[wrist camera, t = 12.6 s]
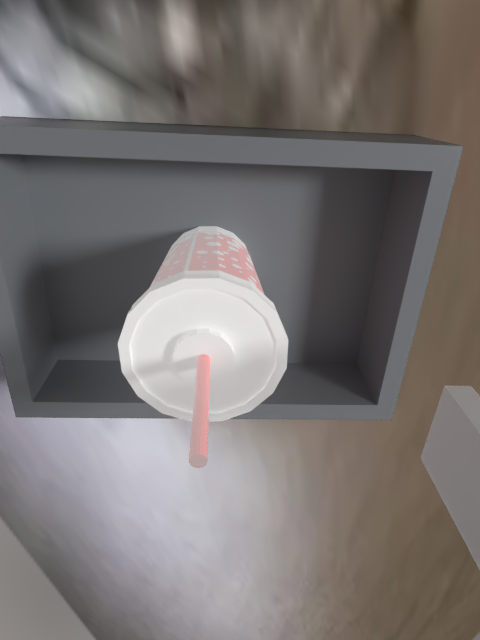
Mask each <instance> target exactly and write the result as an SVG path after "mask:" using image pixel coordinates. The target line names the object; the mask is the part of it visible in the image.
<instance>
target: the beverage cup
mask: <svg viewBox="0 0 480 640" xmlns="http://www.w3.org/2000/svg"><path fill="white" fill-rule="evenodd" d="M118 350H119V356H120V363H121V370H122V373H123V375H124V376H125V378H126V379H127V381H128V382H129V384H130V385H131V387H132V388H133V390H134V391H135V393H136V394H137V396H138V397H139V398H141V399H142V400H144V401H145V402H147V403H148V404H149V405H151V406H152V407H154V408H155V409H157V410H158V411H159V412H161V413H162V414H166V415H169V416H173V417H176V418H179V419H183V420H186V421H190V422H192V430H191V442H190V454H189V463H190V465H191V466H193V467H196V468H201V467H204V466H205V465H206V464H207V455H208V425H209V422H211V421H224V420H227V419H230V418H233V417H236V416H239V415H241V414H244V413H247V412H250V411H252V410H253V409H254V408H255V407H256V406H258V405H259V404H260V403H261V402H263V401H264V400H265V399H266V398H268V397H269V396H270V395H271V394H273V392H274V391H275V389H276V387H277V385H278V383H279V382H280V380H281V378H282V376H283V374H284V372H285V371H286V369H287V355H288V337H287V335H286V332H285V330H284V327H283V325H282V322H281V320H280V317H279V315H278V313H277V310H276V308H275V305H274V303H273V302H272V301H271V300H269V299H268V298H267V297H266V296H265V295H264V292H263V289H262V287H261V284H260V281H259V279H258V276H257V273H256V271H255V268H254V265H253V263H252V260H251V258H250V255H249V253H248V251H247V248H246V246H245V244H244V243H243V242H242V241H241V240H240V239H239V238H238V237H237V236H236V235H235V234H234V233H232V232H230V231H227V230H225V229H222V228H220V227H217V226H199V227H197V228H195V229H192V230H190V231H187V232H185V233H183V234H182V235H181V236H180V237H179V238H178V239H177V241H176V242H175V243H174V244H173V245H172V246H171V248H170V250H169V252H168V254H167V256H166V258H165V259H164V261H163V263H162V265H161V267H160V269H159V271H158V273H157V274H156V276H155V278H154V280H153V282H152V284H151V286H150V288H149V289H148V290H147V291H146V292H145V293H144V294H143V295H142V296H141V297H140V298H139V299H138V300H137V301H136V302H135V303H134V304H133V305H132V307H131V310H130V311H129V312H128V314H127V317H126V320H125V323H124V326H123V329H122V332H121V335H120V338H119V341H118Z"/></svg>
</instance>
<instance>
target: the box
mask: <svg viewBox="0 0 480 640" xmlns="http://www.w3.org/2000/svg"><path fill="white" fill-rule="evenodd" d="M462 149H463V146H461V145H456V144H452V143H447V142H443V141H438V140H434V139H429V138H425V137H420V136H416V135H401V134H379V133H357V132H335V131H313V130H291V129H269V128H247V127H225V126H203V125H181V124H159V123H137V122H115V121H93V120H71V119H49V118H27V117H5V116H2V117H0V354H1V358H2V362H3V366H4V370H5V374H6V378H7V383H8V387H9V391H10V395H11V399H12V403H13V407H14V411H15V415H16V417H52V418H176V417H173V416H169V415H166V414H162V413H161V412H159V411H158V410H157V409H155V408H154V407H152V406H151V405H149V404H148V403H147V402H145V401H144V400H142V399H141V398H139V397H138V396H137V394H136V393H135V391H134V390H133V388H132V387H131V385H130V384H129V382H128V381H127V379H126V378H125V376H124V375H123V373H122V370H121V363H120V356H119V350H118V341H119V338H120V335H121V332H122V329H123V326H124V323H125V320H126V317H127V314H128V312H129V311H130V310H131V307H132V305H133V304H134V303H135V302H136V301H137V300H138V299H139V298H140V297H141V296H142V295H143V294H144V293H145V292H146V291H147V290H148V289H149V288H150V286H151V284H152V282H153V280H154V278H155V276H156V274H157V273H158V271H159V269H160V267H161V265H162V263H163V261H164V259H165V258H166V256H167V254H168V252H169V250H170V248H171V246H172V245H173V244H174V243H175V242H176V241H177V239H178V238H179V237H180V236H181V235H182V234H183V233H185V232H187V231H190V230H192V229H195V228H197V227H199V226H217V227H220V228H222V229H225V230H227V231H230V232H232V233H234V234H235V235H236V236H237V237H238V238H239V239H240V240H241V241H242V242H243V243H244V244H245V246H246V248H247V251H248V253H249V255H250V258H251V260H252V263H253V265H254V268H255V271H256V273H257V276H258V279H259V281H260V284H261V287H262V289H263V292H264V295H265V296H266V297H267V298H268V299H269V300H271V301H272V302H273V303H274V305H275V308H276V310H277V313H278V315H279V317H280V320H281V322H282V325H283V327H284V330H285V332H286V335H287V337H288V355H287V369H286V371H285V372H284V374H283V376H282V378H281V380H280V382H279V383H278V385H277V387H276V389H275V391H274V392H273V394H271V395H270V396H269V397H268V398H266V399H265V400H264V401H263V402H261V403H260V404H259V405H258V406H256V407H255V408H254V409H253V410H252V411H250V412H247V413H244V414H241V415H239V416H236V417H233V418H230V419H320V420H392V418H393V414H394V410H395V406H396V402H397V399H398V395H399V391H400V387H401V383H402V379H403V376H404V372H405V368H406V364H407V360H408V356H409V353H410V349H411V345H412V341H413V337H414V333H415V330H416V326H417V322H418V318H419V314H420V310H421V306H422V303H423V299H424V295H425V291H426V287H427V283H428V280H429V276H430V272H431V268H432V264H433V260H434V257H435V253H436V249H437V245H438V241H439V237H440V234H441V230H442V226H443V222H444V218H445V214H446V211H447V207H448V203H449V199H450V195H451V191H452V188H453V184H454V180H455V176H456V172H457V168H458V165H459V161H460V157H461V153H462Z"/></svg>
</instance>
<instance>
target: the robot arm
mask: <svg viewBox="0 0 480 640" xmlns="http://www.w3.org/2000/svg"><path fill="white" fill-rule="evenodd" d="M421 460H422V462H423V464H424V466H425V468H426V470H427V471H428V473H429V475H430V477H431V479H432V481H433V483H434V485H435V487H436V488H437V490H438V492H439V494H440V496H441V498H442V500H443V502H444V504H445V505H446V507H447V509H448V511H449V513H450V515H451V517H452V519H453V521H454V522H455V524H456V526H457V528H458V530H459V532H460V534H461V536H462V538H463V539H464V541H465V543H466V545H467V547H468V549H469V551H470V553H471V555H472V556H473V558H474V560H475V562H476V564H477V566H478V568H479V570H480V396H479V395H478V394H477V392H476V391H475V390H474V389H473V387H472V386H444V389H443V392H442V395H441V398H440V401H439V404H438V407H437V410H436V413H435V416H434V419H433V422H432V425H431V428H430V431H429V434H428V437H427V440H426V443H425V446H424V449H423V452H422V455H421Z"/></svg>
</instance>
